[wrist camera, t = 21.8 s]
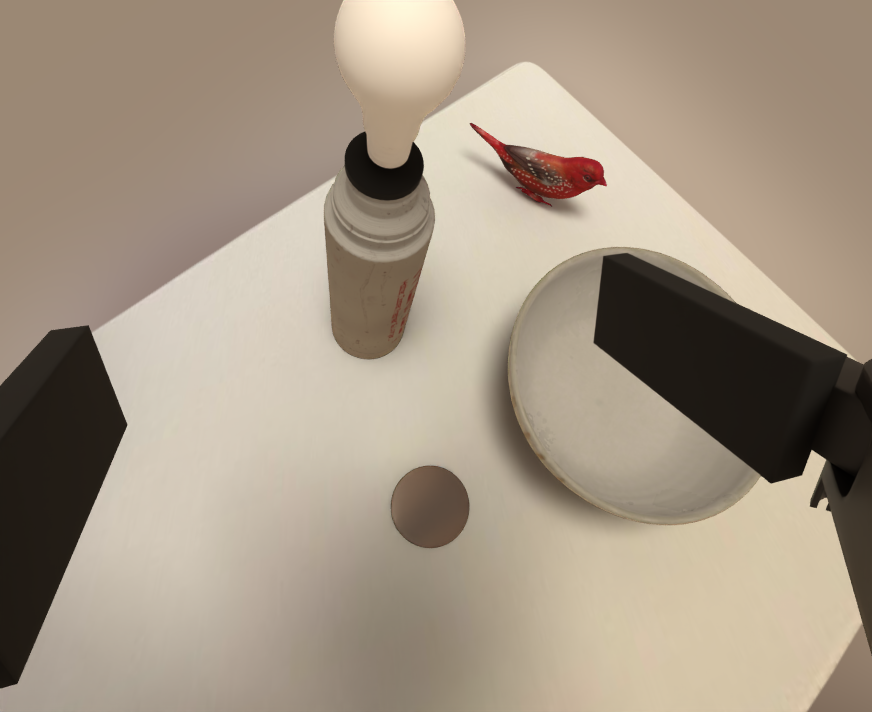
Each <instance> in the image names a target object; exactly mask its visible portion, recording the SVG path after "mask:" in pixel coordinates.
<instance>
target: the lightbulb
mask: <svg viewBox="0 0 872 712" xmlns="http://www.w3.org/2000/svg"><path fill="white" fill-rule="evenodd" d="M334 50H335V56H336V60H337V64H338V67H339V70H340V73H341V75H342V77H343V80H344V81H345V83H346V84H347V86H348V88H349V89H350V91H351V93H352V94H353V95H354V97H355V98H356V100H357V101H358V102H359V104H360V106H361V109H362V113H363V125H364V129H365V132H366V134H367V150H368V155H369V157H370V158H371V160H372V161H373V162H374V163H376V164H377V165H379V166H381V167H384V168H397V167H399V166H401V165H403V164H404V163H405V162H406V161H407V159H408V157H409V154H410V150H411V146H412V142H413V141H414V140H415V139H416V137H417V135H418V132H419V129H420V125H421V123H422V121H423V119H424V118H425V116H426V115H427V114H428V113H430V112H431V111H433V110H434V109H435V108H436V107H437V106H438V105H439V104H440V103H441V102H443V101H444V100H445V98H446V97H447V96H448V95H449V94H450V93H451V91H452V89H453V88H454V86H455V84H456V82H457V80H458V79H459V77H460V74H461V70H462V66H463V62H464V58H465V33H464V26H463V22H462V19H461V16H460V13H459V11H458V9H457V7H456V5H455V3H454V1H453V0H343V2H342V5H341V7H340V10H339V12H338V15H337V19H336V23H335V29H334Z"/></svg>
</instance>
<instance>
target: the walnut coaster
mask: <svg viewBox="0 0 872 712" xmlns="http://www.w3.org/2000/svg"><path fill="white" fill-rule="evenodd" d="M391 514H392V519H393V521H394V524H395V526H396V528H397V530H398V531H399V532H400V534H401V535H402V536H403V537H404V538H405V539H406V540H408V541H409V542H411V543H413V544H415V545H417V546H421V547H426V548H435V547H440V546H443V545H446V544H448V543H449V542H451V541H453V540H454V539H455V538H456V537H457V536H458V535H459V534H460V533H461V531H462V530H463V528H464V526H465V525H466V522H467V519H468V515H469V499H468V495H467V492H466V489H465V487H464V486H463V484H462V482H461V481H460V480H459V479H458V478H457V477H456V476H455V475H454V474H453V473H452V472H450V471H448V470H446V469H444V468H441V467H438V466H423V467H419V468H416V469H414V470H412V471H410V472H409V473H407V474H406V475H405V476H404V477H403V478H402V479H401V480H400V481H399V483H398V484H397V486H396V487H395V490H394V492H393V495H392V500H391Z"/></svg>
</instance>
